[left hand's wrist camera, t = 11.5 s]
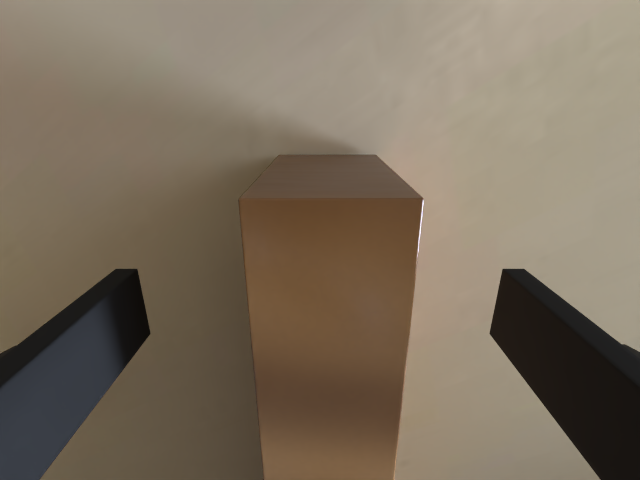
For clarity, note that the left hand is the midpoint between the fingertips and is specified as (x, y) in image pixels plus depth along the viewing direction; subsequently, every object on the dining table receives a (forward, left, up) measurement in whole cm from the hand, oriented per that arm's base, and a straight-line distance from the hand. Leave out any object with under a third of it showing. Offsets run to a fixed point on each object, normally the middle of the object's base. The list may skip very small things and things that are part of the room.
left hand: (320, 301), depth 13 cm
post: (-3, -30, -6) cm, 31 cm away
